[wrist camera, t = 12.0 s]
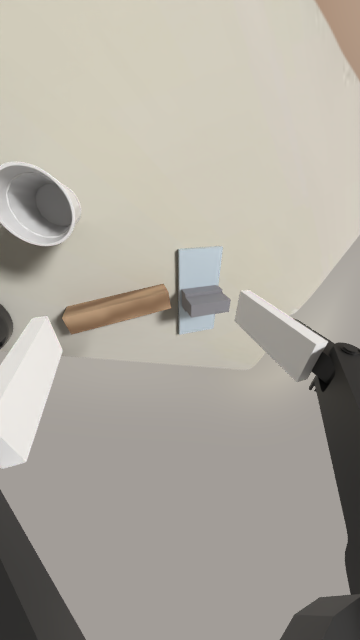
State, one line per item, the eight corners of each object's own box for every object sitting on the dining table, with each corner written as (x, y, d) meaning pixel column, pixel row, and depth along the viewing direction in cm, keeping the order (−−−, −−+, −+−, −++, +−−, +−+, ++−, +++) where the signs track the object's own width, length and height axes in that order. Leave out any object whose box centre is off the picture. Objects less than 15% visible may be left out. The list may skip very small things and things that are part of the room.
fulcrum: (178, 332, 51) (187, 351, 45) (178, 248, 39) (190, 258, 33) (211, 326, 54) (225, 343, 47) (220, 246, 42) (240, 254, 35)
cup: (71, 242, 33) (53, 259, 24) (19, 206, 29) (-28, 209, 19) (96, 204, 32) (88, 206, 22) (45, 160, 27) (7, 138, 18)
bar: (67, 306, 39) (61, 318, 35) (163, 283, 43) (168, 291, 39) (75, 321, 42) (71, 334, 38) (165, 298, 45) (171, 308, 41)
